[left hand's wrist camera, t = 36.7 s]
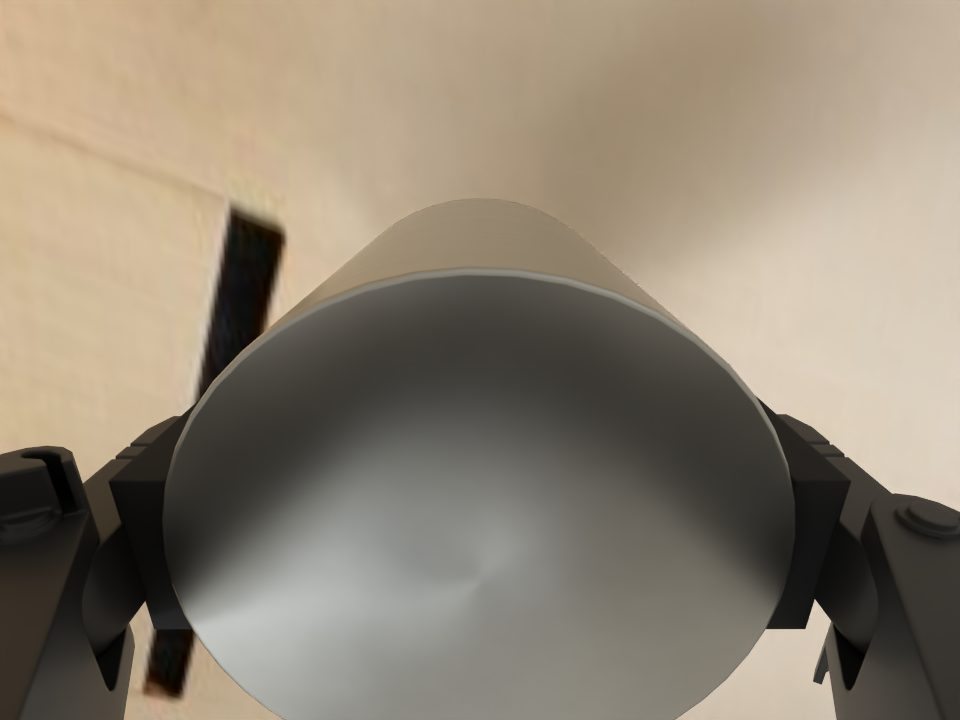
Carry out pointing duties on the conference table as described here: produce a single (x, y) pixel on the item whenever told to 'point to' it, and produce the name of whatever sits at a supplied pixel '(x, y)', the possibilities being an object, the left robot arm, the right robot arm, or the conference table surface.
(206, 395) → the can
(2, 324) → the conference table surface
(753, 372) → the conference table surface
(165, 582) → the left robot arm
